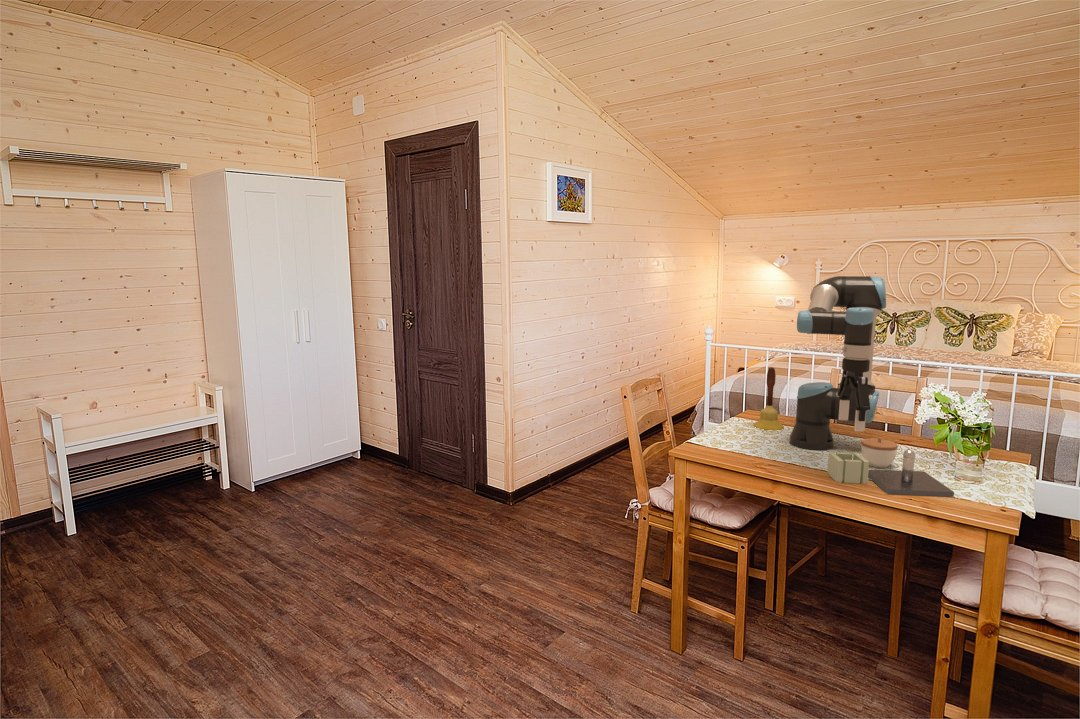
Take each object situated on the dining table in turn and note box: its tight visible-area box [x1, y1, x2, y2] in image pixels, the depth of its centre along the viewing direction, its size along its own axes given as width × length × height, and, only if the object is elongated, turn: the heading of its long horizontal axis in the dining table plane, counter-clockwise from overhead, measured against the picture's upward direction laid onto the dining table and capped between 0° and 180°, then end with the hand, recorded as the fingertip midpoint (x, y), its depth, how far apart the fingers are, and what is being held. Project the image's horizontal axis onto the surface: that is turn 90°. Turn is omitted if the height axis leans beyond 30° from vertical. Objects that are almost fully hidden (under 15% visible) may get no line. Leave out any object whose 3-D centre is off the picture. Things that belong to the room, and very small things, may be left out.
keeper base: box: [868, 449, 955, 498], centre depth 188 cm, size 18×18×11 cm
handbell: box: [752, 366, 785, 431], centre depth 254 cm, size 12×12×25 cm
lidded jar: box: [860, 437, 899, 469], centre depth 207 cm, size 11×11×9 cm
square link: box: [826, 451, 870, 485], centre depth 194 cm, size 9×9×7 cm
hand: (851, 425), depth 192 cm, fingers open, 13 cm apart
